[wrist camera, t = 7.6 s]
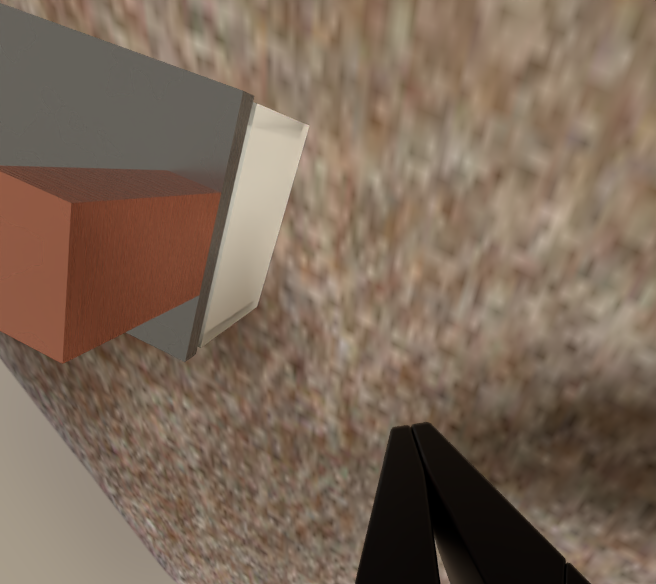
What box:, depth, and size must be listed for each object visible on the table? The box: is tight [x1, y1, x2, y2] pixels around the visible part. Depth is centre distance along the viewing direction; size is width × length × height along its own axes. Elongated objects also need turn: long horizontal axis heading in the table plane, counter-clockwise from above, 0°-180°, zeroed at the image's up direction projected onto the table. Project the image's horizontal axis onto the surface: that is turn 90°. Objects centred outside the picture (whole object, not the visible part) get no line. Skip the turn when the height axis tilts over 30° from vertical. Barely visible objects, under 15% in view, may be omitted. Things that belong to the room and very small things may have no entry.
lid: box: [0, 3, 254, 364], centre depth 13 cm, size 12×11×7 cm
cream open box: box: [198, 102, 309, 348], centre depth 19 cm, size 12×11×6 cm
